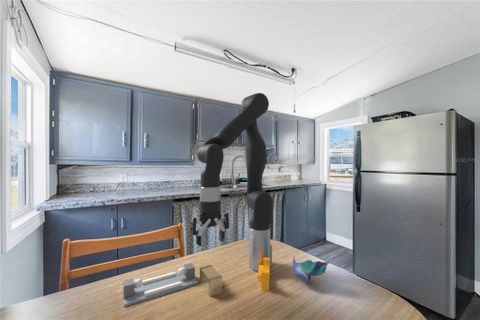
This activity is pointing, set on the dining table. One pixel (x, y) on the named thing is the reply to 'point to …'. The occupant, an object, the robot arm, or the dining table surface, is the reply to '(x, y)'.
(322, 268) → the figurine
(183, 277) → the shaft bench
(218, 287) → the tan tapered block
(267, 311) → the dining table surface
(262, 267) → the pipe clamp
